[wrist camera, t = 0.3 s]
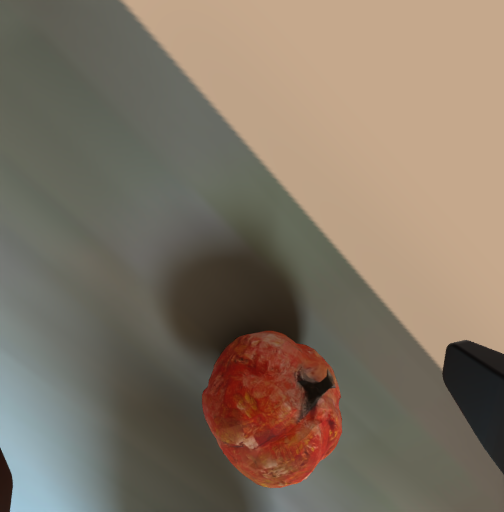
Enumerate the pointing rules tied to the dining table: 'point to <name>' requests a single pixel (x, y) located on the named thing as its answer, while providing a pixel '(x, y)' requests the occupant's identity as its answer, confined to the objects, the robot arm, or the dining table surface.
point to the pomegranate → (273, 408)
